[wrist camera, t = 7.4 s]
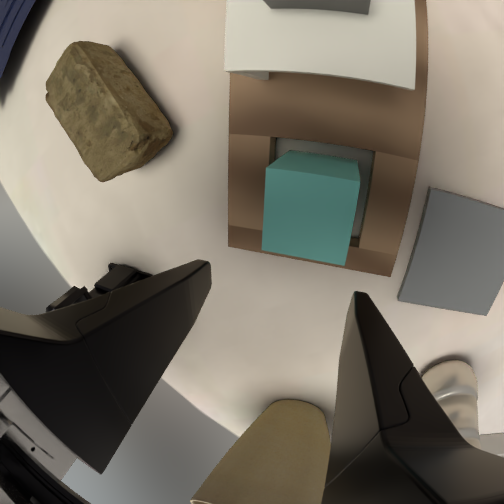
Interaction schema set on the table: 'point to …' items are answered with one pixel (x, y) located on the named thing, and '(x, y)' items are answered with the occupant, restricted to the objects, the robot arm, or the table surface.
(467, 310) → the slate mat
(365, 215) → the brown wooden board
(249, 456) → the plant pot
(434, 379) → the plastic bottle
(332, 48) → the cover
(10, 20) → the navy folded cloth
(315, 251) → the teal block
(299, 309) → the table surface
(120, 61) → the stone block
